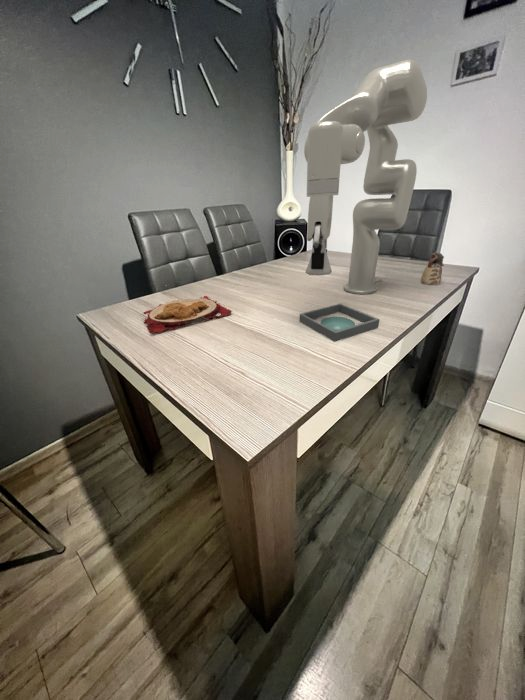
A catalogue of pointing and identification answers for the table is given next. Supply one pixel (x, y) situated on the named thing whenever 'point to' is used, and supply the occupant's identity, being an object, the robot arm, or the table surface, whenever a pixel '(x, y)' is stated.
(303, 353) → the table surface
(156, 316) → the plate with food
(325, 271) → the flask
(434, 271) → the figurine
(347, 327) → the square tray with dome
